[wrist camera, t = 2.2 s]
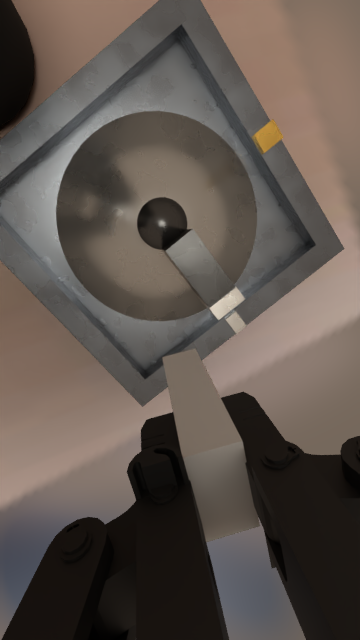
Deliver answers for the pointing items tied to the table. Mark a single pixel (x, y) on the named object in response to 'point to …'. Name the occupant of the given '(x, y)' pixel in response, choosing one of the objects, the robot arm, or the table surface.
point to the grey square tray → (168, 96)
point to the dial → (157, 217)
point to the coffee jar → (14, 62)
